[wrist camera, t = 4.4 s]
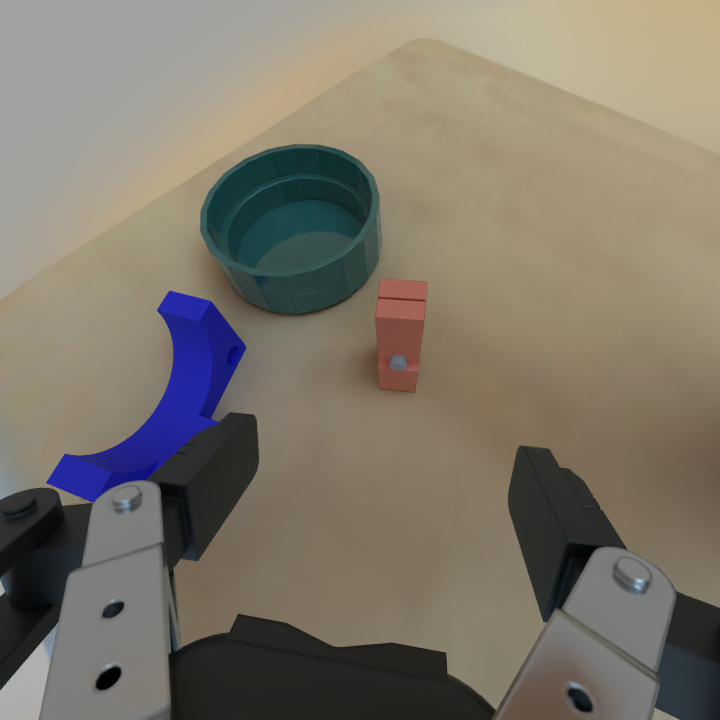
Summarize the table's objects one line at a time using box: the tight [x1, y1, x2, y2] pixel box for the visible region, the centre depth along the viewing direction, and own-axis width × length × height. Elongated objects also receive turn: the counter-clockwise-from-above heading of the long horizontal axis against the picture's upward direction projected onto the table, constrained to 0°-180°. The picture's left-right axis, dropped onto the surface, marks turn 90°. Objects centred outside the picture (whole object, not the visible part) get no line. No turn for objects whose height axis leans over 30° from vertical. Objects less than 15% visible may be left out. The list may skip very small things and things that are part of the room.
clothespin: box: [375, 279, 427, 392], centre depth 22 cm, size 2×3×8 cm
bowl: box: [200, 144, 381, 314], centre depth 29 cm, size 13×13×5 cm
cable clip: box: [46, 291, 246, 503], centre depth 23 cm, size 12×4×6 cm, turn 162°
